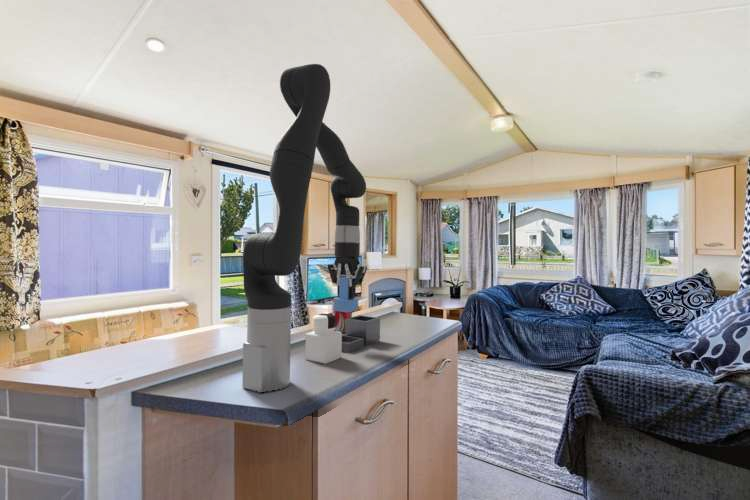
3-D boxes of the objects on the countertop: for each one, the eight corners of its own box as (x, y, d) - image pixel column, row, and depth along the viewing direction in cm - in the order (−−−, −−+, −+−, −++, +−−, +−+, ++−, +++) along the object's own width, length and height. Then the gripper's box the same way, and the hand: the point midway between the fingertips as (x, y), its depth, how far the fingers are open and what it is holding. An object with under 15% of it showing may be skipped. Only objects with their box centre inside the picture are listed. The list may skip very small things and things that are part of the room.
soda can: (329, 329, 141) (329, 296, 141) (347, 328, 144) (347, 296, 144) (335, 333, 135) (336, 299, 134) (354, 332, 138) (355, 298, 137)
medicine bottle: (321, 353, 110) (322, 311, 110) (341, 357, 106) (342, 314, 106) (304, 359, 104) (305, 315, 104) (325, 364, 100) (326, 318, 100)
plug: (347, 312, 113) (348, 278, 112) (333, 310, 116) (334, 277, 115) (358, 309, 117) (358, 276, 117) (344, 308, 120) (344, 275, 120)
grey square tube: (365, 346, 119) (366, 321, 118) (345, 342, 123) (345, 318, 123) (379, 341, 125) (380, 318, 125) (359, 337, 130) (359, 315, 129)
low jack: (348, 352, 111) (348, 344, 111) (326, 348, 115) (326, 340, 115) (364, 346, 118) (364, 338, 118) (343, 342, 122) (343, 335, 122)
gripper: (321, 240, 117) (320, 297, 117) (359, 241, 109) (358, 302, 109) (336, 241, 123) (335, 295, 123) (373, 241, 115) (372, 299, 116)
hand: (346, 298), depth 116 cm, fingers closed on plug, 3 cm apart
